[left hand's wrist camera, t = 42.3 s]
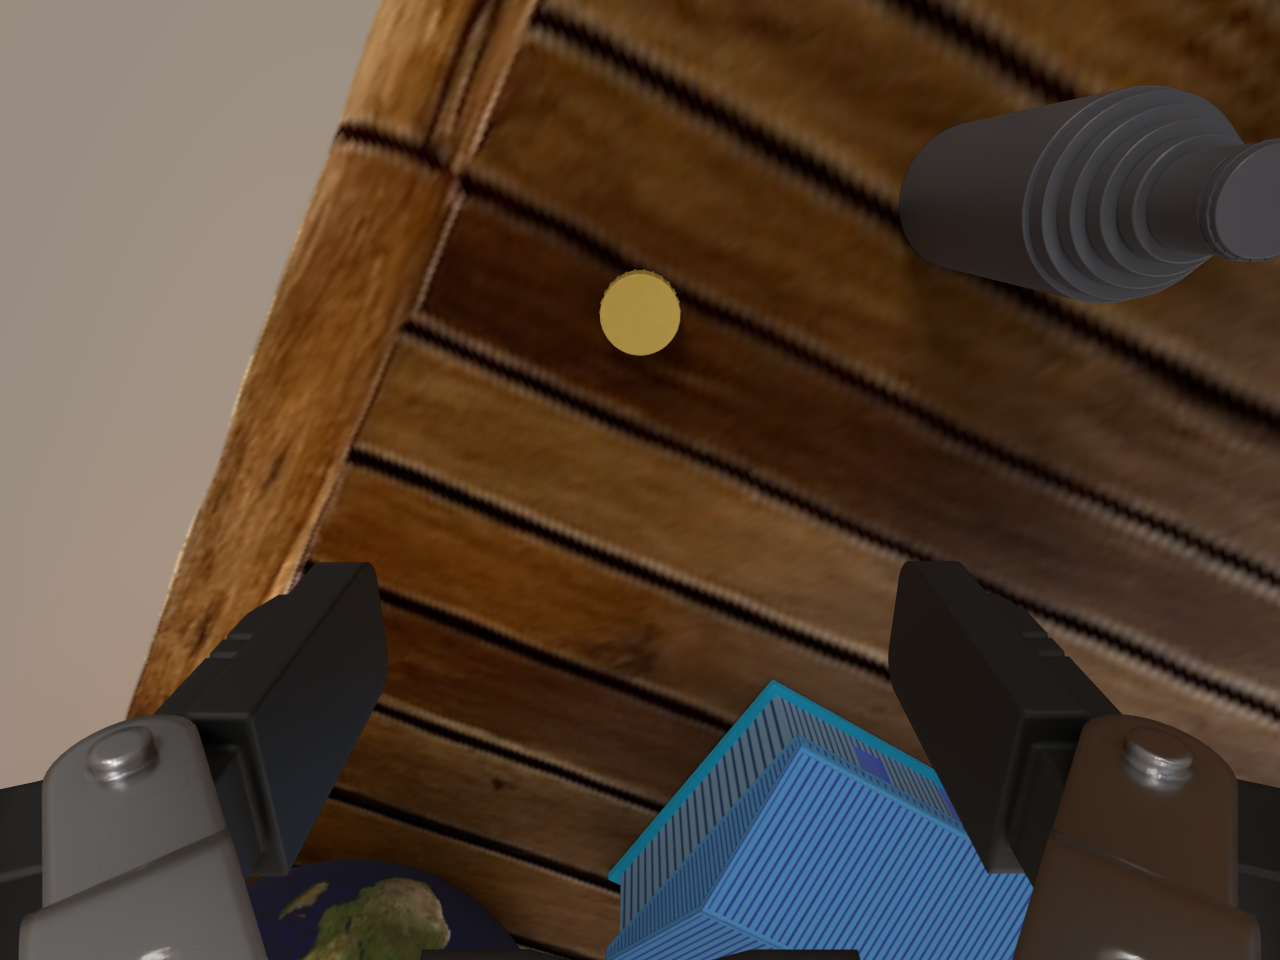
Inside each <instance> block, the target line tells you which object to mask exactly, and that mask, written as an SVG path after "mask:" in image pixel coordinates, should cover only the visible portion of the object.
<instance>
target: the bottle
mask: <svg viewBox="0 0 1280 960" xmlns="http://www.w3.org/2000/svg"><path fill="white" fill-rule="evenodd" d="M899 212H900V220H901V225H902V228H903V231H904V234H905V236H906V238H907V240H908V242H909V243H910V245H911V246H912V248H913V249H914V250H915V251H916V252H917V253H918V254H919V255H920V256H922V257H923V258H924V259H925V260H927V261H929V262H931V263H932V264H935V265H937V266H940V267H944V268H948V269H952V270H957V271H961V272H965V273H969V274H973V275H977V276H981V277H985V278H989V279H993V280H997V281H1001V282H1006V283H1010V284H1014V285H1018V286H1022V287H1026V288H1030V289H1034V290H1038V291H1042V292H1046V293H1050V294H1055V295H1059V296H1063V297H1067V298H1071V299H1075V300H1079V301H1083V302H1088V303H1099V304H1102V303H1116V302H1121V301H1127V300H1130V299H1134V298H1140V297H1144V296H1147V295H1150V294H1154V293H1156V292H1158V291H1161V290H1163V289H1165V288H1167V287H1169V286H1171V285H1173V284H1174V283H1176V282H1178V281H1180V280H1181V279H1182V278H1184V277H1185V276H1187V275H1188V274H1189V273H1191V272H1192V271H1193V270H1194V269H1196V268H1197V267H1198V266H1200V265H1201V264H1202V263H1203V262H1205V261H1206V260H1207V259H1209V258H1210V257H1212V256H1213V255H1217V256H1219V257H1221V258H1223V259H1228V260H1234V261H1243V262H1250V263H1252V262H1260V261H1268V260H1270V259H1273V258H1275V257H1278V256H1280V138H1278V139H1269V140H1264V141H1261V142H1259V143H1256V144H1244V143H1243V141H1242V140H1241V139H1240V137H1239V135H1238V134H1237V132H1236V131H1235V130H1234V128H1233V126H1232V125H1231V123H1230V122H1229V120H1228V119H1227V118H1226V116H1225V115H1224V114H1223V113H1222V112H1221V111H1220V110H1219V109H1218V108H1217V107H1216V106H1214V105H1213V104H1211V103H1210V102H1208V101H1207V100H1205V99H1203V98H1201V97H1199V96H1197V95H1194V94H1191V93H1187V92H1183V91H1181V90H1178V89H1175V88H1171V87H1167V86H1158V85H1144V86H1135V87H1130V88H1124V89H1120V90H1115V91H1110V92H1106V93H1101V94H1097V95H1092V96H1087V97H1083V98H1078V99H1073V100H1069V101H1064V102H1059V103H1055V104H1050V105H1046V106H1041V107H1036V108H1032V109H1027V110H1022V111H1018V112H1013V113H1009V114H1004V115H999V116H995V117H990V118H985V119H981V120H976V121H971V122H967V123H962V124H959V125H956V126H954V127H951V128H949V129H947V130H945V131H944V132H942V133H940V134H939V135H937V136H936V137H935V138H933V139H932V140H931V141H930V142H929V143H927V145H926V146H925V147H924V148H923V149H922V150H921V151H920V152H919V153H918V155H917V156H916V157H915V159H914V160H913V162H912V164H911V165H910V167H909V169H908V171H907V173H906V176H905V178H904V181H903V184H902V188H901V193H900V202H899Z"/></svg>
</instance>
